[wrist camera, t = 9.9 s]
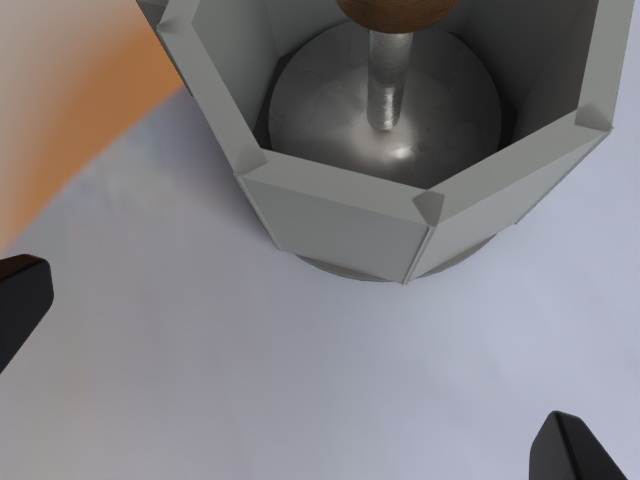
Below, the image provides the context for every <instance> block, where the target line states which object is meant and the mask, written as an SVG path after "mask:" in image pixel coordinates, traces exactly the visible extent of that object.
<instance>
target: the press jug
mask: <svg viewBox="0 0 640 480" xmlns="http://www.w3.org/2000/svg"><path fill="white" fill-rule="evenodd" d="M136 2H137V3H138V5H139V7H140V9H141V10H142V12H143V14H144V15H145V17H146V19H147V21H148V22H149V24H150V26H151V27H152V29H153V31H154V32H155V34H156V36H157V37H158V39H159V41H160V43H161V45H162V46H163V48H164V50H165V51H166V53H167V55H168V56H169V58H170V60H171V62H172V63H173V65H174V67H175V69H176V70H177V72H178V74H179V75H180V77H181V79H182V80H183V82H184V84H185V86H186V87H187V89H188V91H189V92H190V94H191V96H193V97H195V99H196V101H197V103H198V105H199V107H200V109H201V111H202V112H203V114H204V116H205V118H206V120H207V122H208V124H209V126H210V127H211V129H212V131H213V133H214V135H215V137H216V139H217V141H218V142H219V144H220V146H221V148H222V150H223V152H224V154H225V156H226V158H227V159H228V161H229V163H230V165H231V167H232V169H233V171H234V173H233V176H234V177H235V179H236V181H237V182H238V184H239V186H240V187H241V189H242V191H243V192H244V194H245V196H246V198H247V200H248V202H249V203H250V205H251V207H252V208H253V210H254V211H255V213H256V215H257V216H258V218H259V219H260V221H261V222H262V224H263V225H264V227H265V228H266V230H267V232H268V233H269V235H270V237H271V238H272V240H273V242H274V243H275V245H276V247H277V248H278V249H280V250H281V251H287V252H290V253H293V254H295V255H296V256H298V257H299V258H301V259H302V260H304V261H306V262H308V263H310V264H312V265H314V266H315V267H317V268H319V269H321V270H324V271H327V272H330V273H333V274H336V275H338V276H342V277H347V278H351V279H356V280H361V281H374V282H393V281H394V282H398V283H401V284H402V285H404V284H405V285H407V283H408V282H409V281H411V280H413V279H416V278H422V277H425V276H428V275H431V274H434V273H438V272H441V271H443V270H445V269H447V268H449V267H452V266H454V265H456V264H458V263H460V262H462V261H463V260H465V259H466V258H468V257H469V256H471V255H472V254H474V253H476V252H477V251H478V250H479V249H480V248H482V247H483V246H484V245H485V244H486V243H487V242H489V241H490V240H491V239H492V238H493V237H494V236H495V235H496V234H497V233H498V232H500V231H502V230H504V229H505V228H507V227H509V226H511V225H513V224H517V223H518V222H519V221H520V220H521V219H522V218H523V217H524V216H525V215H526V214H527V213H529V212H530V211H531V210H532V209H533V208H534V207H535V206H536V205H537V204H538V203H539V202H540V201H541V200H542V199H543V198H544V197H545V196H546V195H547V194H548V193H549V192H550V191H551V190H552V189H553V188H554V187H555V186H556V185H557V184H558V183H559V182H561V181H562V180H563V179H564V178H565V177H566V176H567V175H568V174H569V173H570V172H571V171H572V170H573V169H574V168H575V167H576V166H577V165H578V164H579V163H580V162H581V161H582V160H583V159H584V158H585V157H586V156H587V155H588V154H589V153H590V152H591V151H592V150H594V149H595V148H596V147H597V146H598V145H599V144H600V143H601V142H602V141H603V140H604V139H605V138H606V137H607V136H608V135H609V134H610V133H611V131H612V130H613V129H614V128H613V126H612V122H613V116H614V111H615V105H616V100H617V94H618V89H619V83H620V78H621V72H622V67H623V61H624V56H625V50H626V45H627V39H628V33H629V28H630V22H631V17H632V11H633V6H634V0H459V1H458V3H457V5H456V6H455V7H454V9H453V10H452V11H451V12H450V13H449V14H448V15H447V16H446V17H445V18H443V19H442V20H441V21H439V22H437V23H436V24H434V25H433V26H436V27H438V28H440V29H442V30H444V31H446V32H448V33H450V34H451V35H453V36H454V37H456V38H457V39H458V40H460V41H461V42H463V43H464V44H465V45H466V46H467V47H468V48H469V49H470V50H472V51H473V52H474V54H475V55H476V56H477V57H478V58H479V60H480V61H481V62H482V63H483V65H484V66H485V68H486V69H487V71H488V73H489V74H490V76H491V78H492V81H493V83H494V85H495V87H496V91H497V94H498V97H499V101H500V108H501V133H500V139H499V144H498V147H497V150H496V153H495V154H493V155H491V156H490V157H488V158H486V159H484V160H482V161H480V162H478V163H477V164H475V165H473V166H471V167H469V168H467V169H465V170H464V171H462V172H460V173H458V174H456V175H454V176H453V177H451V178H449V179H447V180H445V181H443V182H441V183H440V184H438V185H436V186H434V187H432V188H430V189H428V190H424V189H420V188H416V187H412V186H408V185H404V184H400V183H396V182H392V181H388V180H384V179H380V178H377V177H373V176H369V175H365V174H361V173H357V172H353V171H349V170H345V169H341V168H337V167H333V166H329V165H325V164H321V163H317V162H313V161H309V160H305V159H301V158H297V157H293V156H289V155H285V154H281V153H277V152H274V151H273V148H272V145H271V140H270V134H269V109H270V102H271V99H272V95H273V91H274V88H275V86H276V84H277V82H278V79H279V77H280V75H281V74H282V72H283V70H284V69H285V67H286V65H287V64H288V63H289V62H290V60H291V59H292V58H293V57H294V55H295V54H296V53H297V52H298V51H299V50H300V49H301V48H302V47H304V46H305V45H306V44H307V43H308V42H310V41H311V40H312V39H314V38H315V37H316V36H318V35H320V34H322V33H323V32H325V31H327V30H329V29H331V28H333V27H335V26H338V25H340V24H343V23H346V22H349V21H352V20H351V19H350V18H348V17H347V16H346V15H345V14H344V13H343V12H342V10H341V9H340V8H339V6H338V5H337V3H336V1H335V0H136Z"/></svg>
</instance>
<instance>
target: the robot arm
mask: <svg viewBox="0 0 640 480" xmlns="http://www.w3.org/2000/svg"><path fill="white" fill-rule="evenodd" d="M53 299H54V291H53V284H52V277H51V269H50V265H49V263H48V261H47V260H45V259H43V258H40V257H36V256H33V255H30V254H21V255H17V256H13V257H9V258H6V259H2V260H0V374H1V373H2V371H3V370H4V369H5V368H6V366H7V365H8V364H9V362H10V361H11V360H12V358H13V357H14V356H15V354H16V353H17V352H18V350H19V349H20V348H21V346H22V345H23V344H24V342H25V341H26V340H27V338H28V337H29V336H30V334H31V333H32V332H33V330H34V329H35V328H36V326H37V325H38V323H39V322H40V321H41V319H42V318H43V317H44V315H45V314H46V313H47V311H48V310H49V309H50V307H51V305H52V302H53ZM529 480H628V479H627V478H626V477H625V475H624V474H623V473H622V471H621V470H620V469H619V467H618V466H617V465H616V463H615V462H614V461H613V459H612V458H611V457H610V456H609V454H608V453H607V452H606V450H605V449H604V448H603V446H602V445H601V444H600V442H599V441H598V440H597V439H596V437H595V436H594V435H593V433H592V432H591V431H590V429H589V428H588V427H587V425H586V424H585V423H584V422H583V420H582V419H580V418H579V417H577V416H574V415H571V414H567V413H564V412H561V411H552V412H551V413H550V414H549V415H548V417H547V418H546V420H545V422H544V424H543V425H542V427H541V429H540V431H539V432H538V434H537V436H536V438H535V440H534V441H533V444H532V446H531V450H530V459H529Z"/></svg>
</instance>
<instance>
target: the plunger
mask: <svg viewBox="0 0 640 480" xmlns="http://www.w3.org/2000/svg"><path fill="white" fill-rule="evenodd" d="M335 1H336V3H337V5H338V6H339V8H340V9H341V10H342V12H343V13H344V14H345V15H346V16H347V17H348V18H350V19H351V20H352V21H349V22H346V23H343V24H340V25H338V26H335V27H333V28H331V29H329V30H327V31H325V32H323V33H322V34H320V35H318V36H316V37H315V38H314V39H312V40H311V41H310V42H308V43H307V44H306V45H305V46H304V47H302V48H301V49H300V50H299V51H298V52H297V53H296V54H295V55H294V57H293V58H292V59H291V60H290V62H289V63H288V64H287V65H286V67H285V69H284V70H283V72H282V74H281V75H280V77H279V79H278V82H277V84H276V86H275V88H274V91H273V95H272V99H271V102H270V109H269V134H270V140H271V145H272V148H273V151H274V152H277V153H281V154H285V155H289V156H293V157H297V158H301V159H305V160H309V161H313V162H317V163H321V164H325V165H329V166H333V167H337V168H341V169H345V170H349V171H353V172H357V173H361V174H365V175H369V176H373V177H377V178H380V179H384V180H388V181H392V182H396V183H400V184H404V185H408V186H412V187H416V188H420V189H424V190H428V189H430V188H432V187H434V186H436V185H438V184H440V183H441V182H443V181H445V180H447V179H449V178H451V177H453V176H454V175H456V174H458V173H460V172H462V171H464V170H465V169H467V168H469V167H471V166H473V165H475V164H477V163H478V162H480V161H482V160H484V159H486V158H488V157H490V156H491V155H493V154H495V153H496V150H497V147H498V144H499V139H500V133H501V108H500V101H499V97H498V94H497V91H496V87H495V85H494V83H493V81H492V78H491V76H490V74H489V73H488V71H487V69H486V68H485V66H484V65H483V63H482V62H481V61H480V60H479V58H478V57H477V56H476V55H475V54H474V52H473V51H472V50H470V49H469V48H468V47H467V46H466V45H465V44H464V43H463V42H461V41H460V40H458V39H457V38H456V37H454V36H453V35H451V34H450V33H448V32H446V31H444V30H442V29H440V28H438V27H436V26H433V25H434V24H436V23H437V22H439V21H441V20H442V19H443V18H445V17H446V16H447V15H448V14H449V13H450V12H451V11H452V10H453V9H454V7H455V6H456V5H457V3H458V1H459V0H335Z"/></svg>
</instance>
